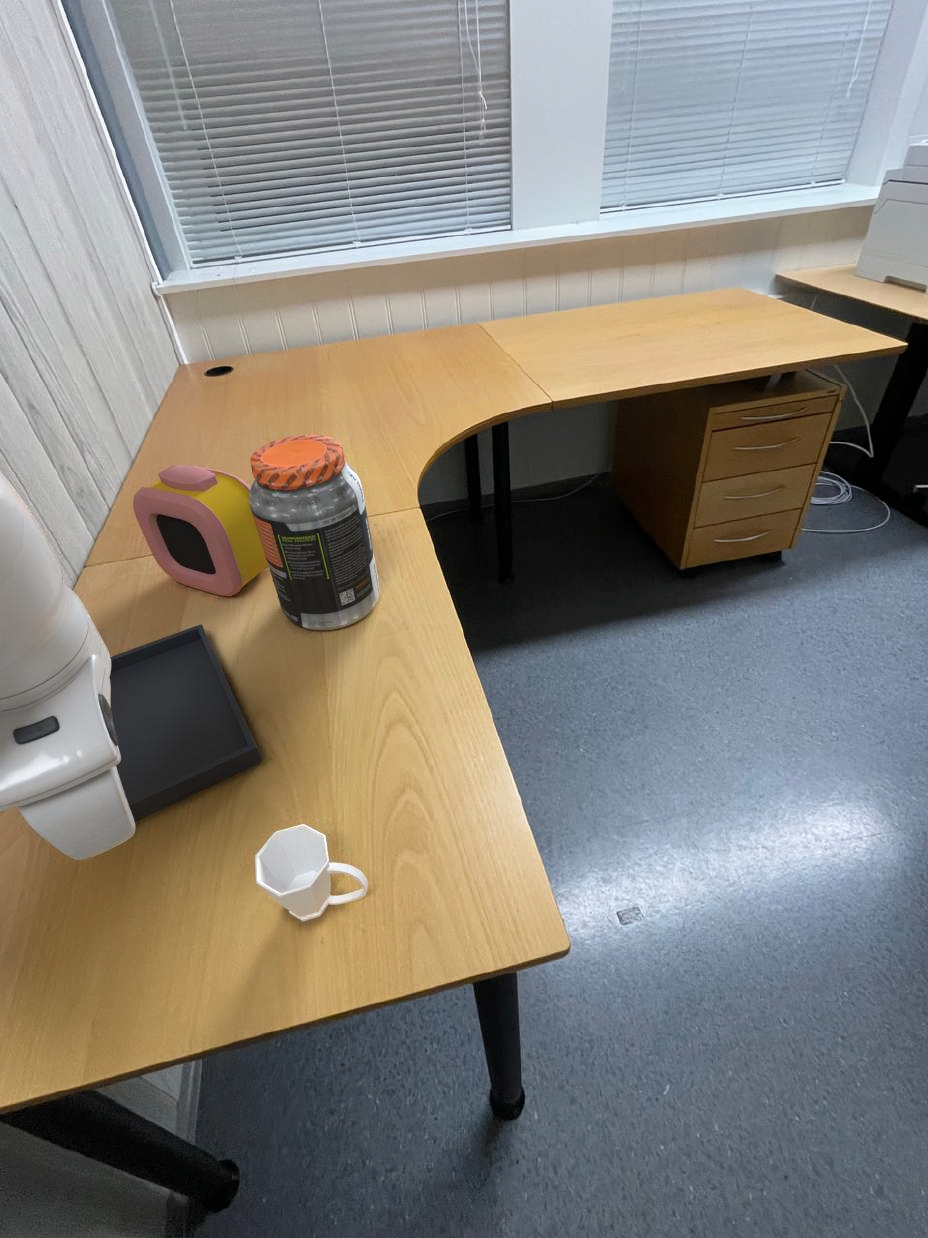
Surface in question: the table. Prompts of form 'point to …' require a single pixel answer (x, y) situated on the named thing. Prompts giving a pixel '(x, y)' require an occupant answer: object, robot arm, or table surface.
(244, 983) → the table surface
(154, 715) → the tray
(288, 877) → the cup
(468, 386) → the table surface
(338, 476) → the supplement tub
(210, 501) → the alarm clock
